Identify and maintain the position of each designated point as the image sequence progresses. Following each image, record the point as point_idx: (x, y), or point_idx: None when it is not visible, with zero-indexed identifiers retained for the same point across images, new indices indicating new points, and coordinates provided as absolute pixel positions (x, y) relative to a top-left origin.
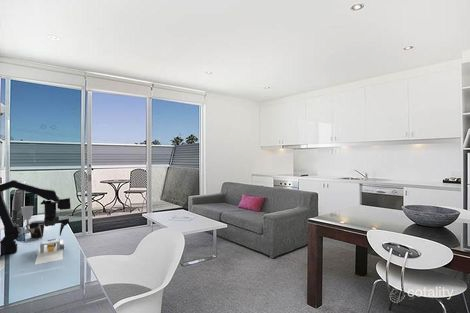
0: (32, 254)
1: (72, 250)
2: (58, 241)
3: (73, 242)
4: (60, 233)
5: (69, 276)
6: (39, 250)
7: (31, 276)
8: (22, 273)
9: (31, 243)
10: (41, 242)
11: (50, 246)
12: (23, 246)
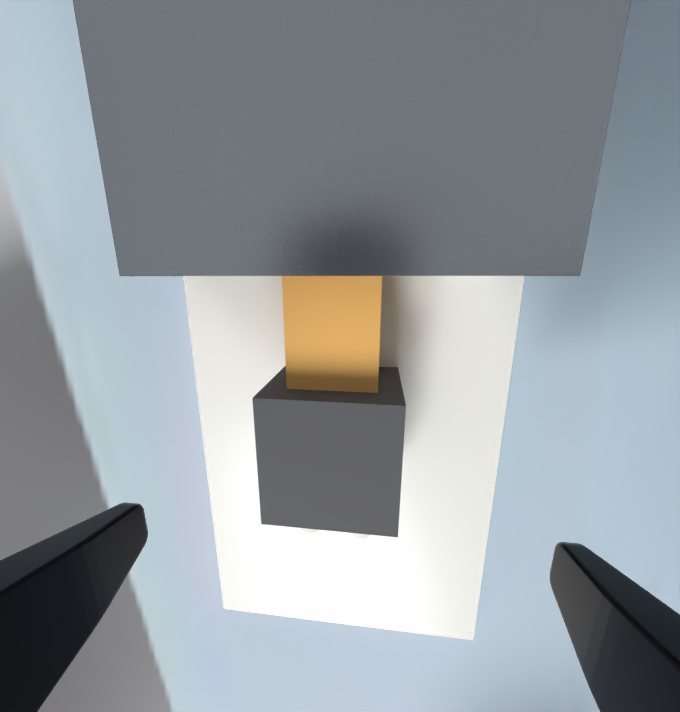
0: (621, 171)
1: (30, 13)
2: (108, 38)
3: (100, 445)
4: (54, 543)
5: None
6: (514, 279)
7: None
8: None
9: (571, 709)
10: (567, 235)
11: None
12: None
